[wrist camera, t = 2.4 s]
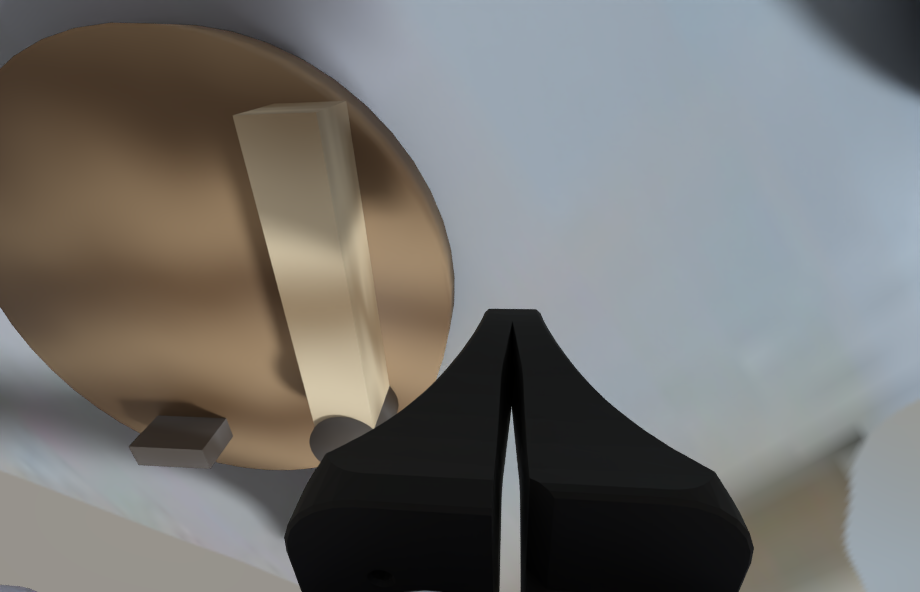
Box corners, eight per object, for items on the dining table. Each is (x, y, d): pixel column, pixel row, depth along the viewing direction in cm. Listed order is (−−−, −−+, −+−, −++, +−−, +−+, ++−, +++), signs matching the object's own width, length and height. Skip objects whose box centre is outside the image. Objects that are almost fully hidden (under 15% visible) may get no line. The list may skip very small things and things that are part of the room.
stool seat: (464, 443, 25) (455, 516, 21) (124, 428, 27) (60, 491, 24) (438, 7, 16) (414, -2, 12) (-82, 39, 18) (-247, 39, 14)
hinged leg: (401, 426, 22) (387, 476, 19) (339, 424, 22) (317, 473, 19) (355, 100, 15) (323, 113, 12) (265, 104, 15) (218, 116, 13)
